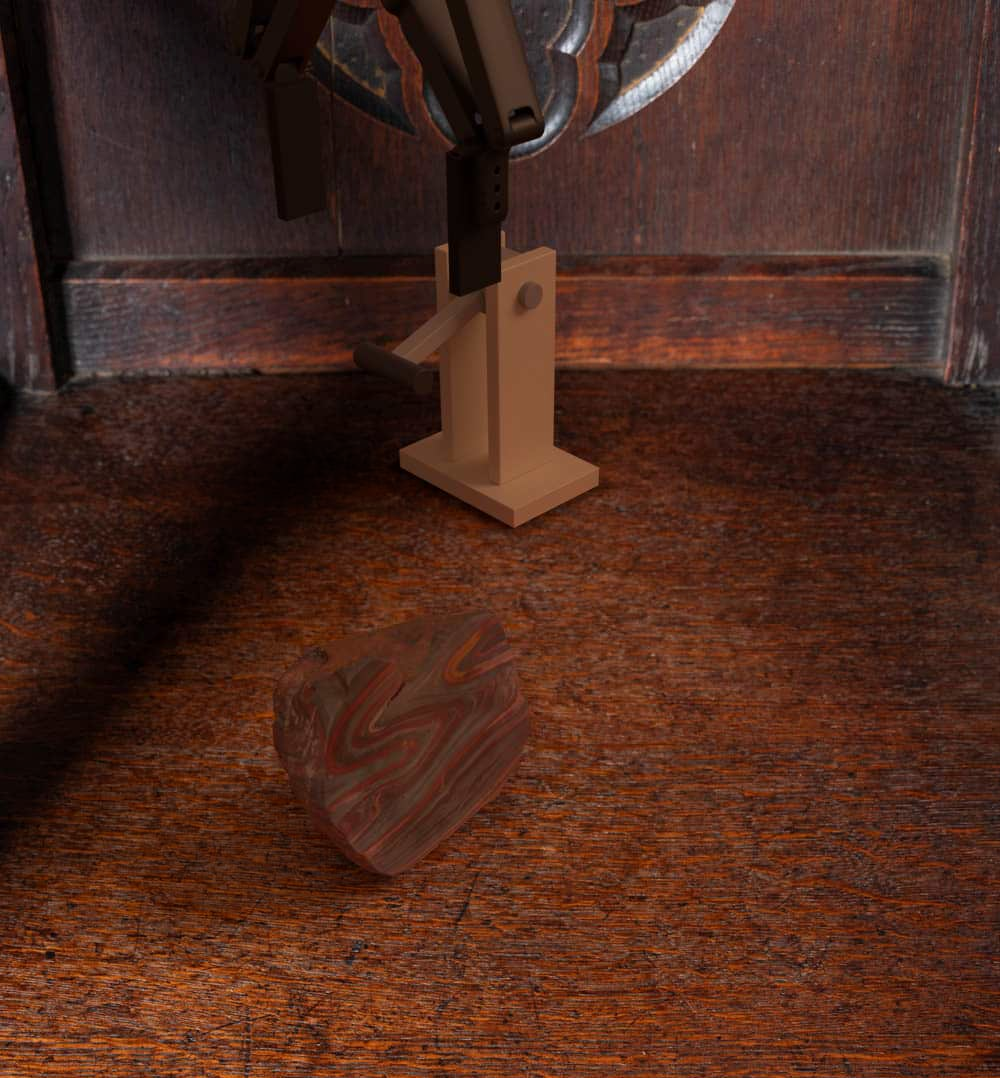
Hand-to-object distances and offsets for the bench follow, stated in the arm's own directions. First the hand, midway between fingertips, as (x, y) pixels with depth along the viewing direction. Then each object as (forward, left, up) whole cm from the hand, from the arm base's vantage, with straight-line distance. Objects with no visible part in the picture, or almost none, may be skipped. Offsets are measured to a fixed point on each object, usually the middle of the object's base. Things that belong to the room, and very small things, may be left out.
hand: (384, 249), depth 73 cm
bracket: (0, +7, -16) cm, 17 cm away
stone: (+18, -17, -16) cm, 29 cm away
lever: (0, +4, -6) cm, 7 cm away
